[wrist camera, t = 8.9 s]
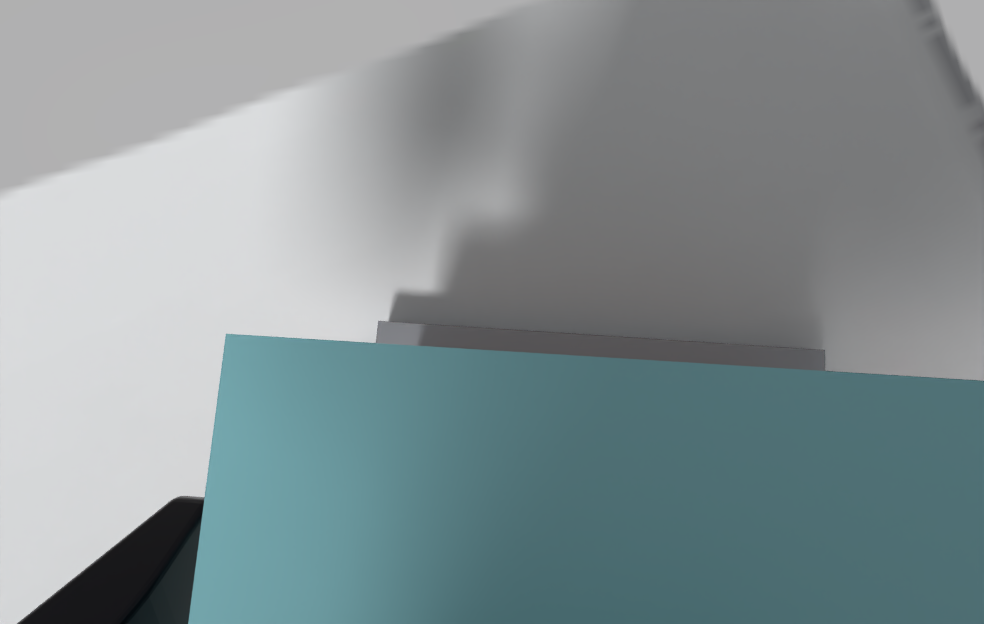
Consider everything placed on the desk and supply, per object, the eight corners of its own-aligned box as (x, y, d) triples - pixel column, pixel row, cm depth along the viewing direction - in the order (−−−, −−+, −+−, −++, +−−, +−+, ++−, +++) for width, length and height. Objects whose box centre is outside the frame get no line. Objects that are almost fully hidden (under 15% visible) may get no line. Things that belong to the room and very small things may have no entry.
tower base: (807, 828, 19) (874, 924, 15) (340, 774, 20) (287, 852, 16) (812, 355, 21) (872, 330, 17) (386, 327, 22) (349, 297, 18)
